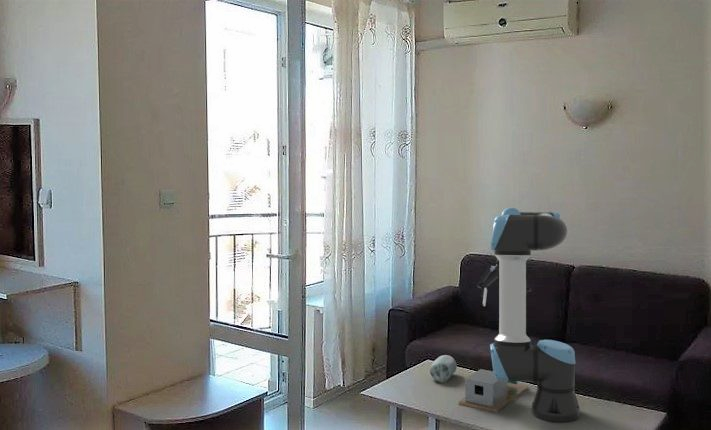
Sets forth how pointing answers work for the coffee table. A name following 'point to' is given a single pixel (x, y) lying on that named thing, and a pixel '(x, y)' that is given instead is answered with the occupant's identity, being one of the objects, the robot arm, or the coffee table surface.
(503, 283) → the robot arm
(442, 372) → the spool
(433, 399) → the coffee table surface
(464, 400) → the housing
